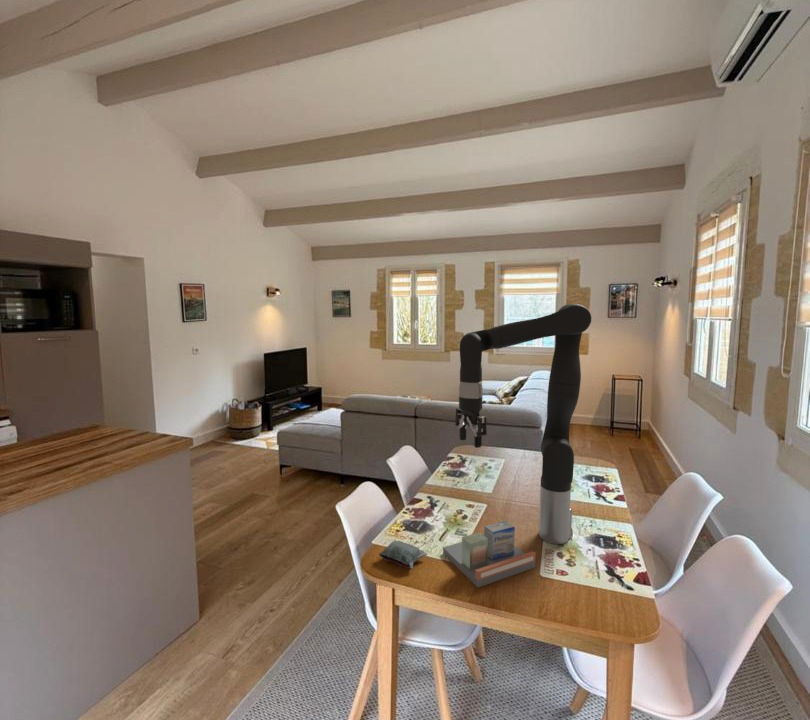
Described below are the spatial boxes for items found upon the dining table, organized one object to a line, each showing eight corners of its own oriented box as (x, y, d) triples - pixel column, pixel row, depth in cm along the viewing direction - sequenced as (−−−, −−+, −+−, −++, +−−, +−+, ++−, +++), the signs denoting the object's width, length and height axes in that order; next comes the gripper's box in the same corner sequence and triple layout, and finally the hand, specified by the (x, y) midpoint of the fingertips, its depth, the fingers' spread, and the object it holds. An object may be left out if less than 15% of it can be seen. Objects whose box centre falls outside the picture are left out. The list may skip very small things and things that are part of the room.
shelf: (496, 537, 142) (496, 525, 141) (535, 567, 126) (535, 553, 125) (443, 553, 133) (443, 540, 133) (478, 587, 117) (478, 572, 117)
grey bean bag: (395, 547, 137) (395, 533, 136) (427, 560, 130) (427, 544, 130) (378, 561, 130) (378, 546, 129) (411, 575, 123) (411, 559, 122)
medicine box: (492, 560, 126) (492, 532, 125) (483, 552, 130) (484, 525, 129) (514, 554, 129) (515, 526, 128) (505, 546, 133) (506, 520, 132)
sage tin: (479, 557, 127) (479, 532, 126) (487, 565, 124) (488, 539, 123) (461, 563, 125) (462, 537, 124) (470, 571, 121) (470, 544, 120)
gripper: (449, 392, 146) (448, 439, 148) (473, 400, 133) (473, 451, 135) (467, 390, 149) (467, 436, 151) (493, 397, 136) (492, 448, 138)
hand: (470, 443), depth 143 cm, fingers open, 8 cm apart
